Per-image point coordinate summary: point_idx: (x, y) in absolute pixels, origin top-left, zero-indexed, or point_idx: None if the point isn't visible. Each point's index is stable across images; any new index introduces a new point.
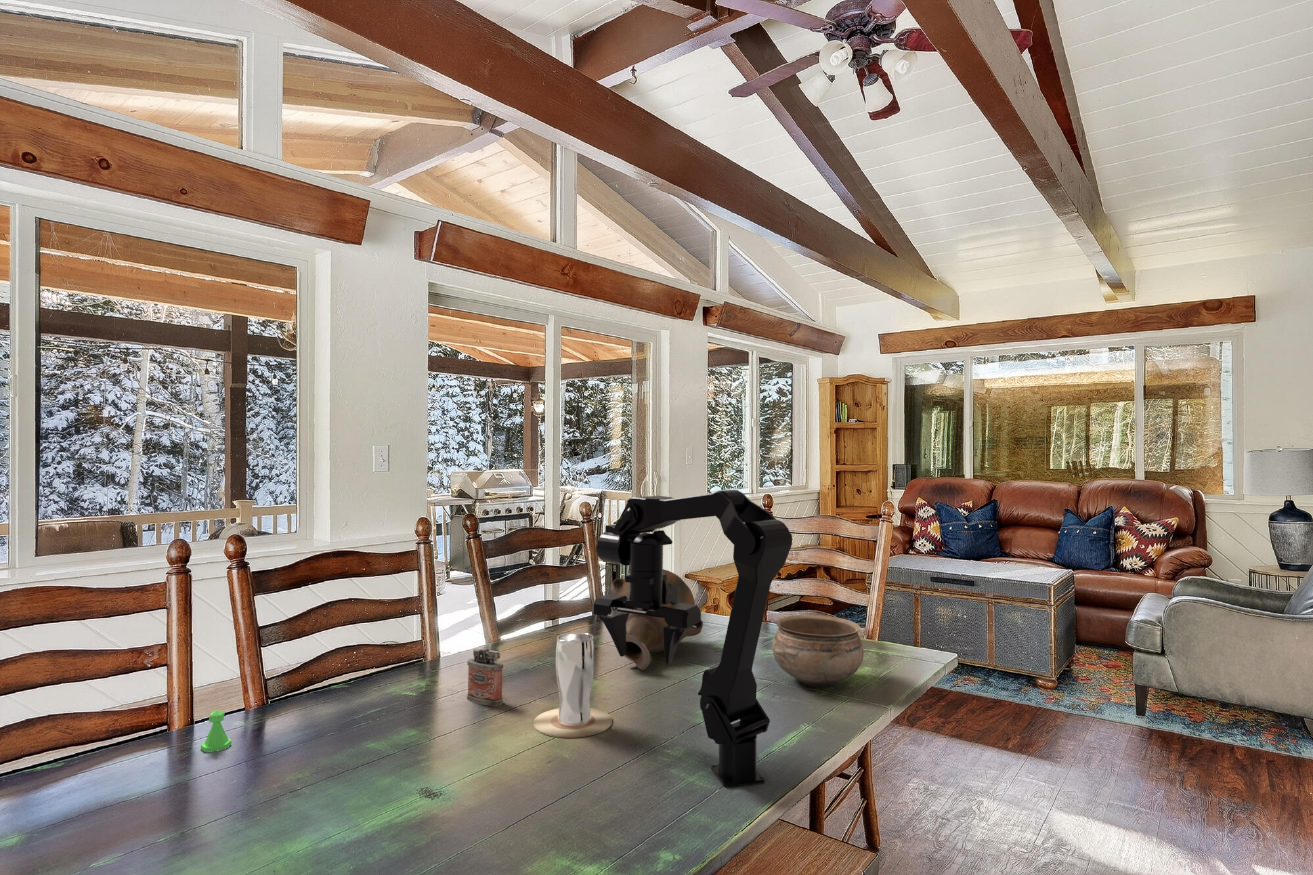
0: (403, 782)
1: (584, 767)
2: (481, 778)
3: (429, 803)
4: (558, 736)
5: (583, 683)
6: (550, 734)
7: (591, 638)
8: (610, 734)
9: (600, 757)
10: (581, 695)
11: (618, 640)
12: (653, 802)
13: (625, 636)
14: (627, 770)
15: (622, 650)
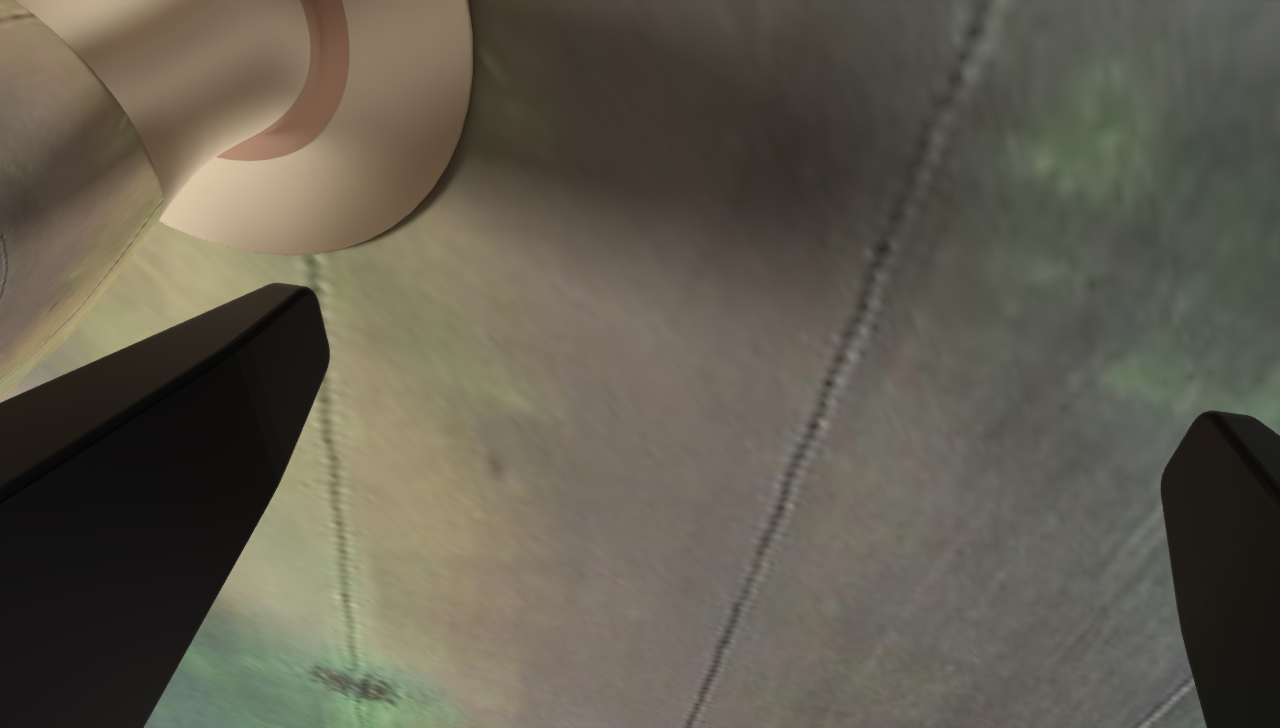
0: (242, 661)
1: (665, 468)
2: (396, 608)
3: (407, 717)
4: (321, 249)
5: (138, 227)
6: (273, 253)
7: None
8: (545, 78)
9: (675, 370)
10: (188, 174)
11: (187, 628)
12: (1079, 614)
13: (79, 470)
14: (871, 441)
15: (282, 406)
